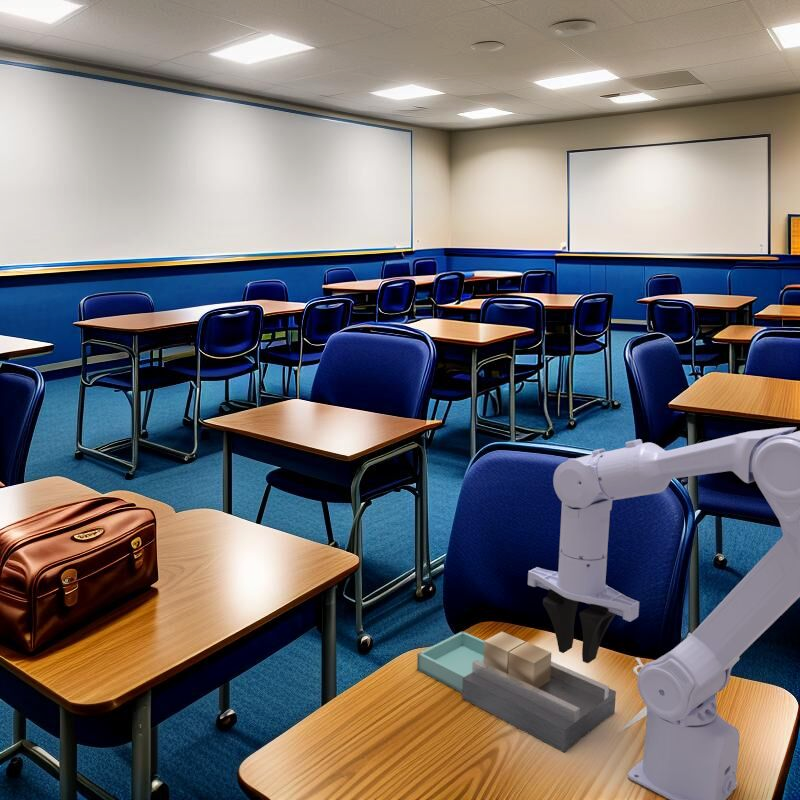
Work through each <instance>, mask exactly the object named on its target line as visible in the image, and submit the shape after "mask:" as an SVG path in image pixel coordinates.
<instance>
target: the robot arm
mask: <svg viewBox="0 0 800 800" xmlns="http://www.w3.org/2000/svg"><path fill="white" fill-rule="evenodd" d="M795 430H797V426H795V427H794V426H793V427H779V428H769V429H768V428H767V429H760V430H750V431H746V432H740V433H738V434H737V433H736V434H733V435H728V436H724V437H720V438H716V439H712V440H707V441H703V442H702V441H701V442H698V443H694V444H690V445H686V446H682V447H678V448H673V449H668V450H666V449H664V448H663V447H661V446H659V445H658V444H656V443H653V442H648V441H647V442H644V443H643V439H640V438H639V439H634V440H629V441H626V442H625V447H622V448H617V449H612V450H608V451H606V450H605V448H599V449H595V450H592V454H589V455H584V456H580V457H576V458H574V457H573V458H569V459H567V460H566V461H564V462H561V463H560V464H559V465H558V466H557V467H556V469H555V470H554V473H553V477H552V479H553V480H552V482H553V488H554V491H555V494H556V495H557V497H558V499H559V500H560V501H561V513H560V514H561V515H560V530H559V531H560V533H559V535H560V536H559V552H558V569H557V570H558V571H554V570H548V569H545V568H541V567H538V566H536V567H535V568H534V567H533V568H532V569H531V570H530V569H529V570H528V573H527V585H528V586H530V587H533V588H537V587H540V588H542V589H545V590H548V593H547V596H545V597H543V599H542V605H543V607H544V609H545V610H546V612H547V614H548V616H549V618H550V621H551V624H552V627H553V629H554V633H555V639H556V642H557V647H558V652H560V653H562V654H564V653H566V652H567V651H569V650H571V649H572V648H573V643H574V638H575V637H574V635H575V620H576V617H577V616H576V615H577V610H578V606H579V603H580V602H581V603H585V604H587V605H589V607H586V608H585V609H583V610H581V611H580V612H579V614H578V615H579V619H580V623H581V629H582V650H581V652H582V653H581V658H582V662H583V663H586V664H590V663H591V662H592V661H594V660H595V659H597V655H598V651H599V647H600V645H601V642H602V640H603V638H604V636H605V633H606V631H607V629H608V628H609V625H610V624H611V622H612V621H613V620H614V617H616V615H617V616H620V617H622V620H625V621H626V622H632V621H634V620H636V619H637V618H638V617H639V614H640V613H639V612H640V610H639V609H640V601H638V600H635V599H633V598H631V597H629V596H626V595H625V594H623V593H621V592H619V591H618V590H615V589H614V588H612V587H610V586H608V584H606V578H607V577H606V576H607V565H608V562H607V561H608V549H609V548H608V545H609V544H608V543H609V531H610V518H611V517H610V516H611V515H610V514H611V511H612V508H613V501H616V500H624V499H630V498H635V497H640V496H642V497H643V496H648V495H654V494H655V495H656V494H660V493H662V492H664V491H665V490H666V489H667V488H668V486H669V484H670V483H671V481H672V480H673V479H681V478H686V477H687V478H688V477H693V476H695V477H696V476H701V475H707V474H708V475H709V474H717V473H723V472H733V473H734V475H736V476H737V477H738V478H739V479H740V480H741V481H742V482H744V483H746V484H750V483H753V482H755V483H756V485H757V487H758V488H759V490H760V491H761V493H762V495H763V496H764V498H765V499H766V502H767V503H768V504H769V507H771V510H772V511H773V513H774V514H775V516H776V518H777V519H778V521H779V524H780V528H781V532H782V536H781V537H780V539H778V541H776V543H775V544H774V545H773V546H772V547H771V548H770V549H769V550H768V551H767V552H766V553H765V555H763V557H762V558H761V559H760V560H759V561H758V562H757V563H756V564H755V565H754V566H753V567H752V569H750V571H749V572H747V573H746V575H745V576H744V577H743V578H742V579H741V581H739V582H738V583H737V584H736V585H735V587H734V588H732V589H731V591H730V592H729V593H728V594H727V595H726V596H725V597H724V598H723V600H722V601H721V602H719V603H718V605H717V606H716V607H715V608H714V609H713V610H712V611H711V613H709V614H708V615H707V617H706V618H704V620H703V621H702V622H701V623H700V624H699V625H698V627H697V628H695V630H693V632H692V633H690V634H689V635H688V636H687V637H686V638H685V639H684V640H682V641H681V642H680V643H679V644H677V645H676V646H675V647H674V648H673V649H671V650H670V651H668V652H666V653H665V654H664V655H661V656H660V657H658V658H657V659H655V660H653V661H649V662H646V663H645V664H643V665H644V666H643V667H642V668H641V669H639V671H638V673H639V674H638V677H637V679H636V680H637V683H636V684H637V689H638V693H639V695H640V697H641V699H642V701H643V703H644V704H645V707H646V706H647V715H646V716H645V717H646V721H645V730H644V731H645V733H644V744H643V745H644V746H643V747H644V748H643V758H642V759H641V760H640V761H638V762H637V764H635V765H634V766H633V767H632V768H631V769H630V770H629V771H628V772H627V777H628V779H629V780H632V781H633V782H635V783H637V784H639V785H641V786H643V787H645V788H647V789H649V790H651V791H653V792H654V793H656V794H659V795H660V796H662V797H664V798H666V799H668V800H727V799H728V798H729V796H731V794H732V793H733V792H734V791H733V790H736V788H737V787H738V784H739V783H738V781H737V772H738V761H739V760H738V759H739V751H740V740H741V739H740V737H741V736H740V731H739V729H738V728H737V727H736V726H734V725H732V724H731V723H729V722H728V721H726V720H725V719H724V718H723V717H722V716H720V715H719V713H718V712H717V711H718V709H717V708H718V707H717V696H718V693H719V692H721V691H723V690H724V689H725V688H726V687H727V685H728V684H729V682H730V681H729V680H730V676H731V672H732V668H733V667H734V666H735V664H736V663H737V662H739V660H740V656H741V655H742V654H743V653H745V651H746V650H747V649H749V647H750V646H751V645H753V643H754V642H755V641H757V639H759V638H760V637H761V635H762V634H764V633H765V631H767V630H768V629H769V628H770V627H771V626H772V625H773V624H774V623H775V622H776V621H777V620H778V619H779V618H780V616H783V614H784V613H785V612H786V611H788V609H789V608H790V607H791V606H792V605H793V604H794V603H795V602H796V601H797V600H798V599H799V598H800V430H798V431H795ZM794 431H795V432H794ZM736 786H737V787H736ZM735 787H736V788H735ZM732 791H733V792H732Z"/></svg>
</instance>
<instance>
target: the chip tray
mask: <svg viewBox="0 0 800 800" xmlns="http://www.w3.org/2000/svg"><path fill="white" fill-rule="evenodd" d="M484 641H485V640H484V639H481V638H479V637H476V636H475V635H472V634H470V633H467V632H466V631H460V632H458V633H456V634H454V635H451V636H450V637H448V638H446V639H444V640H442V641H440V642H438V643H436V644H434V645H432V646H430V647H428V648H425V649H424V650H422V651H420V652H417V662H416V663H417V664H416V666H417V667H416V669H417V671H419V672H421V673H423V674H425V675H426V676H429V677H430V678H432V679H434V680H436V681H439V682H440V683H442V684H444V685H446V686H447V687H450V688H452V689H453V690H456V691H457V692H459V693H461V694H462V685H463V677H465V676H467V675H469V674H470V673H472V664H473V662H474V661H476V660H479V661H481V662H483V658H484Z"/></svg>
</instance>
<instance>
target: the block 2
mask: <svg viewBox="0 0 800 800" xmlns="http://www.w3.org/2000/svg"><path fill="white" fill-rule="evenodd" d="M551 661H552V651H548V650H546V649H544V648H543V647H542V648H541V647H539V646H537V645H535V644H532V643H530V642H528V641H525V643H524V644H522V645H520V646H519V647H517V648H515V649H513V650H512V651H510V652H509V664H508V674H509V675H511V676H513V677H515V678H517V679H519V680H521V681H523V682H526V683H528V684H530V685H532V686H534V687H536V688H539V687H541V686H542V685H544V684H545V683H547V682H548V681H550V671H551Z"/></svg>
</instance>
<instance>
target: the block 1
mask: <svg viewBox="0 0 800 800" xmlns="http://www.w3.org/2000/svg"><path fill="white" fill-rule="evenodd" d="M483 641H484V658H483V663H485V664H487V665H490V666H492V667H494V668H496V669H498V670H500V671H502V672H504V673H506V674H508V664H509V652H510V651H512V650H513V649H515V648H517V647H519V646H520V645H522V644H524V643H526V641H525V640H523V639H521V638H518V637H516V636H513V635H511V634H509V633H508V632H507V633H506V632H504V631H500V632H498V633H496V634H494V635H493V636H491V637H489V638H486V639H485V640H483Z"/></svg>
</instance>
